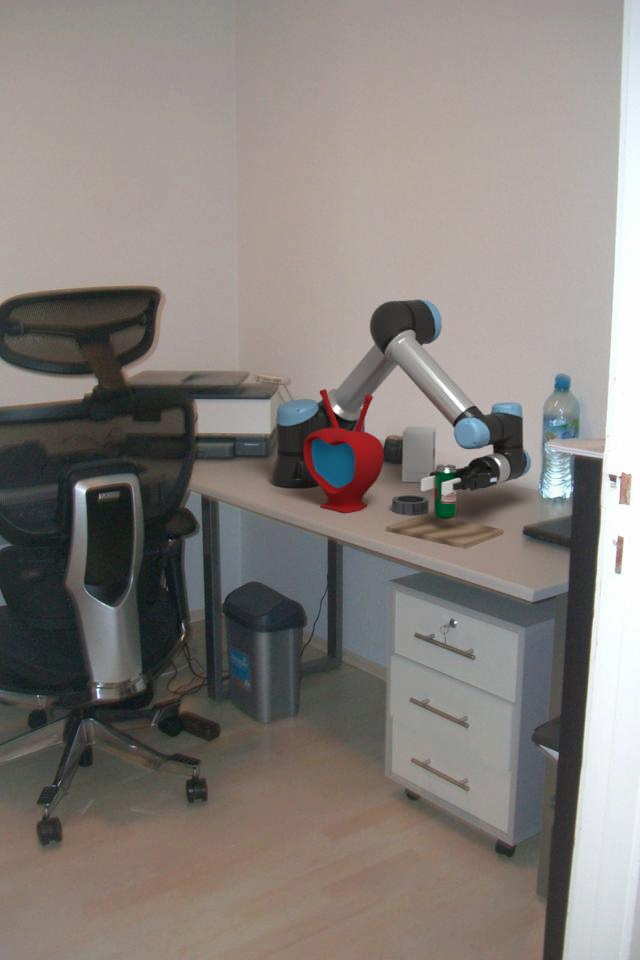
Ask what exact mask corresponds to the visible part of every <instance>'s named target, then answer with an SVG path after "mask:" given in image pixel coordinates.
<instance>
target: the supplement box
mask: <svg viewBox="0 0 640 960" xmlns="http://www.w3.org/2000/svg"><path fill="white" fill-rule="evenodd" d="M436 429H437V428H436V427H427V426H426V427H425V426H421V427H420V426H406V427H405V428H404V430H403V431H402V461H401V462H402V464H401V465H402V466H401V482H402V483H403V482H404V483H418V484H419V483H420V484H421V479H424V478H427V477H430V473H431V472H435V470H436V468H435V467H436V435H437V434H436Z"/></svg>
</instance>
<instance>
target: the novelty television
mask: <svg viewBox="0 0 640 960" xmlns="http://www.w3.org/2000/svg"><path fill="white" fill-rule="evenodd" d="M327 393H328V391H327V389H326V388H325V389H322V390H319V395H320V396H321V398H322V399H323V401H324V403H325V406H326V409H327V411H328V414H329V417H330V420H331V423H332V427H333V428H325V429H321V430H318V431H315V432H313V433H312V434H310V435H309V436H308V437H307V438H306V440H305V442H304V446H303V450H304V458H305V462H306V465H307V468H308V470H309V472H310V473H311V475H312V476H313V478H314V479H315V480H316V481H317V482H318V484H319V485H318V486H319V487H320V488H321V490H322V491H323V492H324V494H325V496H326V498H327V501H328V502H325V503H322V504H321V505H319V507H320V508H321V509H325V510H330V511H334V512H337V511H338V513H341V512H342V514H350V513H356V512H360V511H362V510H364V509H365V508H367V506H368V503H366V502H362V501H363V499H364V497H365V494H366V493H367V492H368V491H369V490H370V488H371V487H372V486H373V485H374V484H375V483H376V481H377V480H378V478H379V476H380V475H381V472H382V468H383V465H384V461H385V460H384V458H385V454H384V453H385V452H384V451H385V450H384V445H383V444H382V442H381V440H379V439H378V438H377V436H375V435H373V434H371V433H369V432H366V431H365V432H363V431H361V429H362V425H363V422H364V419H365V418H366V416H367V412H368V411H369V407H370V405H371V402H372V400H373V399H374V396H373V394H372V395H370V394H367V395H366V396H365V401H364V404H363V405H362V407H361V409H362V411H361V414H360V417H359V420H358V423H357V425H356V427H355V431H348V430H346V429H343V428H339V425H338V423H337V420H336V418H335V415H334V413H333V410H332V407H331V404H330V401H329V398H328V395H327ZM365 420H366V419H365Z"/></svg>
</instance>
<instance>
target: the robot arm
mask: <svg viewBox="0 0 640 960" xmlns="http://www.w3.org/2000/svg"><path fill="white" fill-rule="evenodd" d="M369 321H370V322H369V330H370V336H371V338H372V341H373V342H374V345H372V346H371V348H370V349H369V350H368V352H366V354H365V355H364V356H363V357H362V359H361V360H360V361H359V363H358V364H357V365H356V366H355V367H354V368H353V370H352V371H351V372H350V373H349V374H348V376H346V378H345V379H344V381H343V382H341V384H340V385H339V387H338V388H333V389H330V390H328V391H327V395H328V398H329V401H330V404H331V407H332V410H333V413H334V415H335V418H336V420H337V423H338V425H339V428H343V429H346V430H348V431H355V427H356V425H357V423H358V419H359V416H360V413H361V411H360V409H362V408H363V405H364V401H365V396H366V395H367V394H370V395H372V396H373V394H374V393H375V392H376V391H377V390H378V388H379V387H380V386H381V385H382V384H383V383H384V382H385V381H386V379H387V378H388V377H389V376H390V374H391V373H392V372H393V371H394V370H395V368H397V366H398V367H399V368H400V369H401V370H402V371H403V372H404V373H405V374H406V375H407V377H408V378H409V379H410V380H411V381H412V382H413V383H414V385H416V387H417V388H418V389H419V391H421V392H422V393H423V394H424V396H425V397H426V398H427V399H428V400H429V401H430V403H432V404H433V406H434V407H435V408H436V409H437V410H438V411H439V413H440V414H442V416H443V417H444V418H445V419H446V420H447V421H448V422H449V424H450V425H451V426H452V427H453V428H454V429H453V436H454V439H455V442H456V443H457V445H458V446H459V447H460V448H462V449H464V450H479V449H483V448H485V447H488V446H492V453H491V454H490V453H489V454H486V455H483V456H480V457H477V458H473V459H472V460H470V461H469V464H468V465H466V466H464V467H460V468H456V470H457V478H456V479H453V480H449V481H446V482H443V483H442V495H446V494H449V493H452V492H455V491H457V492H458V491H466V490H468V489H469V491H471V492H473V491H476V490H480V489H486V488H489V487H496V485H498V484H502V483H505V482H508V481H512V480H517V479H519V478H522V477H523V476H525V475H527V473H529V471H530V469H531V465H532V459H531V457H530V454H529V452H528V451H527V450H525V449H524V416H523V409H522V405H521V403H518V402H497V403H494V404H492V405H491V411H490V413H489V414H484V413H483V412H482V411H481V409H480V408H478V406H476V404H475V403H474V402H473V401H472V399H470V398H469V397H468V395H467V394H466V393H465V392H464V391H463V390H462V389H461V388H460V387H459V386H458V384H457V383H456V382H455V381H454V380H453V379H452V378H451V376H450V375H448V373H447V372H446V371H445V370H444V369H443V368H442V367H441V365H439V363H438V362H437V361H436V360H435V359H434V358H433V357H432V355H431V354H430V353H429V352H428V351H427V350H426V349H425V348H424V347H423V346H424V345H429V344H431V343H433V342H435V341H436V340H437V339H438V338H439V336H440V335H441V331H442V326H443V324H442V315H441V313H440V311H439V309H438V308H437V306H436V305H435V304H434V303H433V302H431V301H429V300H424V299H423V300H422V299H419V298H418V299H411V300H409V299H408V300H390V301H385V302H383V303H382V304H379V306H378V307H377V308H376V309H375V310H374V311H373V313H372V314H371V317H370V319H369ZM275 421H276V446H277V447H276V450H277V451H276V460H275V463H274V467H273V472H272V473H271V484H272V485H273V486H274V485H275V486H277V487H281V488H291V489H292V488H294V489H295V488H296V489H297V488H298V489H299V488H300V489H301V488H310V487H317V486H320V485H319V484H318V482H317V481H316V480H315V479H314V478H313V476H312V475H311V473H310V472H309V470H308V468H307V465H306V462H305V458H304V450H303V446H304V442H305V440H306V438H307V437H308V436H309V435H310V434H312V433H313V432H315V431H318V430H321V429H325V428H333V427H332V423H331V420H330V417H329V414H328V411H327V409H326V406H325V403H324V401H323V398H322V399H321V400H320V401H318V402H317V400H314V399H311V398H310V399H309V398H299V399H293V400H289V401H285V402H283V403H281V404H280V405H278V406H277V409H276V419H275ZM432 489H435V472H431V473H430V477H427V478H424V479H421V483H420V491H421V492H426V491H429V490H432Z"/></svg>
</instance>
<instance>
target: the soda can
mask: <svg viewBox="0 0 640 960" xmlns="http://www.w3.org/2000/svg"><path fill="white" fill-rule="evenodd" d="M456 469H457V467H456V465H454V464H446V463H445V464H438V465H436V468H435V488H434V503H433V504H434V506H433V507H434V510H433V511H434V512H433V513H434V514H433V515H435V516H436V517H438V518H441V519H455V517H456V516H457V502H458V501H457V499H458V497H457V496H458V491H455V492H452V493H449V494H446V495H442V483H443V482H446V481H449V480H453V479H456V478H457V470H456Z"/></svg>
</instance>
